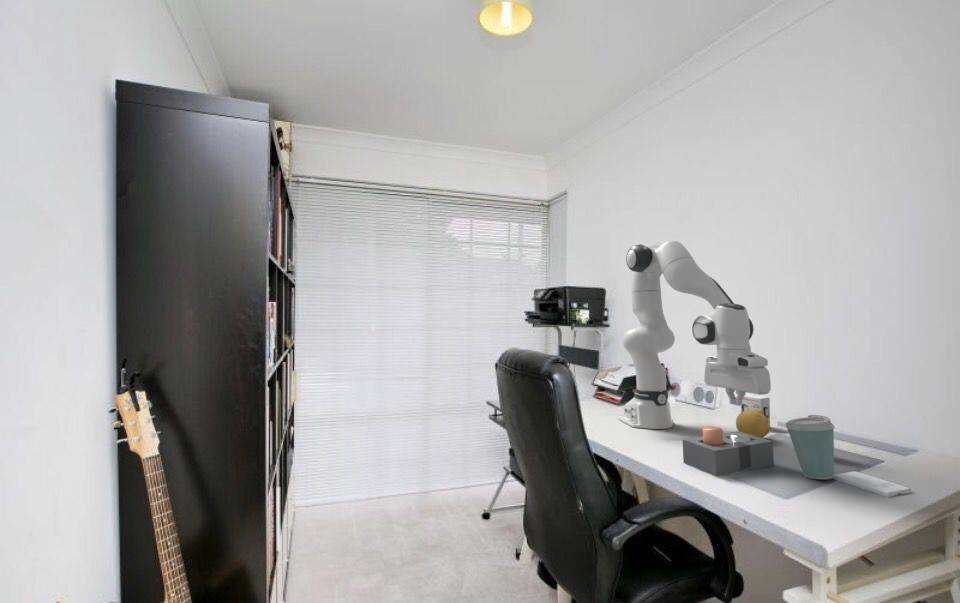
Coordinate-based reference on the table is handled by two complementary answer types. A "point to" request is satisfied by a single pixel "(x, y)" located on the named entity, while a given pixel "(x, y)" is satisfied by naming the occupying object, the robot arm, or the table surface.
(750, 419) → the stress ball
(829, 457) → the disposable coffee cup
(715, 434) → the terracotta button
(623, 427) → the table surface
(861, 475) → the external hard drive
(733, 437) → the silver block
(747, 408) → the ink box
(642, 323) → the robot arm
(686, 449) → the block
